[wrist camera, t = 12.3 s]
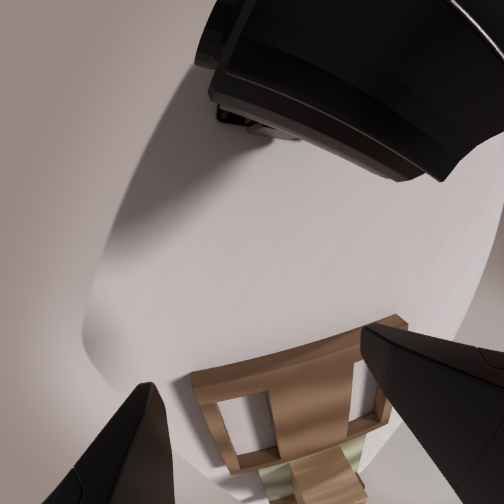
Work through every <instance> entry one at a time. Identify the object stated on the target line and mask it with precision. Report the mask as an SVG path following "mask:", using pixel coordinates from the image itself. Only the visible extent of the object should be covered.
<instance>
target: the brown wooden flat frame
mask: <svg viewBox="0 0 504 504" xmlns="http://www.w3.org/2000/svg"><path fill="white" fill-rule="evenodd" d="M375 323H379V324H383V325H387V326H391V327H395V328H399V329H403V330H407V331H408V323H407V322H406V321H404V320H403V319H402V318H401V317H399V316H398V315H397V314H395V315H392V316H389V317H387V318H384V319H381V320H379V321H376V322H375ZM362 327H363V326H362ZM362 327H359V328H356V329H354V330H351V331H348V332H345V333H342V334H339V335H336V336H332V337H329V338H326V339H323V340H320V341H317V342H313V343H310V344H307V345H303V346H300V347H296V348H293V349H289V350H286V351H282V352H278V353H275V354H271V355H267V356H263V357H259V358H255V359H251V360H247V361H243V362H239V363H234V364H230V365H225V366H221V367H216V368H211V369H207V370H202V371H196V372H191V378H192V389H193V392H194V394H195V397H196V399H197V402H198V404H199V407H200V409H201V411H202V414H203V416H204V418H205V421H206V423H207V425H208V427H209V430H210V432H211V434H212V436H213V439H214V441H215V443H216V445H217V447H218V449H219V451H220V453H221V456H222V458H223V460H224V462H225V464H226V466H227V468H228V470H229V472H230V474H231V475H236V474H241V473H245V472H250V471H254V470H258V471H259V474H260V477H261V480H262V483H263V486H264V489H265V492H266V494H267V497H268V500H269V503H270V504H298V503H297V500H296V498H295V495H294V492H293V485H292V478H291V471H290V464H289V463H290V462H293V461H296V460H300V459H303V458H306V457H309V456H312V455H315V454H318V453H321V452H324V451H326V450H329V449H332V448H335V447H337V446H340V448H341V449H342V451H343V453H344V455H345V457H346V458H347V460H348V462H349V464H350V466H351V467H352V469H353V471H354V473H355V475H356V476H357V478H358V480H359V482H360V483H361V485H362V487H363V489H364V488H365V485H364V484H363V482H362V480H361V479H360V477H359V475H358V473H357V470H358V466H359V462H360V458H361V454H362V450H363V446H364V442H365V437H366V433H368V432H371V431H373V430H375V429H377V428H379V427H381V426H383V425H386V424H388V421H389V417H390V414H391V410H392V404H391V403H390V402H389V400H388V399H387V398H386V396H385V395H384V393H383V392H382V390H381V389H380V387H379V385H378V387H377V393H376V398H375V404H374V409H373V412H372V413H370V414H367V415H365V416H363V417H360V418H358V419H355V420H353V421H351V422H348V421H349V412H350V403H351V392H352V381H353V368H354V363H355V362H357V361H360V360H363V357H362V355H361V352H360V335H361V328H362ZM263 391H266V395H267V401H268V406H269V411H270V416H271V421H272V427H273V432H274V437H275V442H276V447H272V448H269V449H265V450H261V451H257V452H252V453H248V454H244V455H239V456H237V454H236V452H235V450H234V447H233V445H232V442H231V439H230V437H229V434H228V432H227V429H226V426H225V424H224V421H223V418H222V416H221V413H220V410H219V408H218V405H217V402H219V401H224V400H229V399H233V398H238V397H242V396H246V395H251V394H255V393H259V392H263Z"/></svg>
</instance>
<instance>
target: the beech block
mask: <svg viewBox="0 0 504 504" xmlns="http://www.w3.org/2000/svg"><path fill="white" fill-rule="evenodd" d="M289 464H290V471H291V478H292V485H293V492H294V495H295V498H296V500H297V503H298V504H365V502H366V500H367V498H368V496H367V494H366V492H365V491H364V489H363V487H362V485H361V483H360V482H359V480H358V478H357V476H356V475H355V473H354V471H353V469H352V467H351V466H350V464H349V462H348V460H347V458H346V457H345V455H344V453H343V451H342V449H341V448H340V446H337V447H335V448H332V449H329V450H326V451H324V452H321V453H318V454H315V455H312V456H309V457H306V458H303V459H300V460H296V461H293V462H290V463H289Z"/></svg>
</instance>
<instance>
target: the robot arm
mask: <svg viewBox="0 0 504 504" xmlns="http://www.w3.org/2000/svg"><path fill="white" fill-rule="evenodd" d="M194 64H195V65H197V66H201V67H204V68H207V69H213V70H215V73H214V76H213V78H212V81H211V84H210V86H209V89H208V92H207V93H208V95H209V97H210V99H211V101H212V102H215V103H218V105H217V111H216V119H217V121H218V122H220V123H222V124H229V125H236V126H243V127H246V129H245V130H246V131H247V133H248V134H254V135H261V136H267V137H272V138H278V139H283V140H287V139H293V138H299V139H302V140H304V141H306V142H309V143H311V144H313V145H315V146H318V147H320V148H322V149H324V150H326V151H329V152H331V153H333V154H335V155H337V156H339V157H341V158H343V159H345V160H348V161H350V162H352V163H354V164H356V165H358V166H360V167H362V168H364V169H365V170H367V171H369V172H371V173H373V174H376V175H378V176H381V177H383V178H386V179H392V180H393V181H395V182H402V181H408V180H412V179H414V178H416V177H418V176H420V175H422V174H425V173H427V174H428V175H430V176H431V177H433V178H434V179H436V180H437V181H438V182H443V181H444V180H445V179H446V178H447V177H448V175H449V174H450V173H451V172H452V170H453V169H454V168H455V166H456V165H457V164H458V162H459V161H460V160H461V159H462V158H464V157H465V156H466V155H467V154H468V153H469V152H470V151H472V150H473V149H474V148H475V147H476V146H477V145H479V144H481V143H483V142H484V141H486V140H488V139H489V138H491V137H493V136H495V135H498V134H500V133H502V132H504V0H217V1H216V3H215V5H214V7H213V10H212V12H211V14H210V16H209V18H208V21H207V23H206V26H205V28H204V31H203V33H202V36H201V39H200V42H199V45H198V48H197V52H196V56H195V62H194ZM222 112H225V113H227V114H228V118H227V119H222V118H221V116H220V114H221V113H222ZM360 352H361V355H362V357H363V359H364V361H365V363H366V364H367V366H368V368H369V369H370V371H371V373H372V375H373V376H374V378H375V380H376V382H377V383H378V385H379V387H380V389H381V390H382V392H383V393H384V395H385V396H386V398H387V399H388V400H389V402H390V403H391V404H392V406H393V407H394V408H395V410H396V411H397V413H398V414H399V415H400V417H401V418H402V419H403V421H404V422H405V423H406V424H407V426H408V427H409V429H410V430H411V431H412V433H413V434H414V435H415V437H416V438H417V439H418V441H419V442H420V444H421V445H422V446H423V448H424V449H425V450H426V452H427V453H428V455H429V456H430V457H431V459H432V460H433V462H434V463H435V464H436V466H437V467H438V469H439V470H440V471H441V473H442V474H443V476H444V477H445V478H446V480H447V481H448V483H449V484H450V485H451V487H452V488H453V489H455V490H454V491H455V493H456V494H457V496H458V497H459V498H460V500H461V501H462V503H463V504H504V352H499V351H494V350H489V349H484V348H480V347H478V348H477V347H475V346H470V345H465V344H462V343H457V342H453V341H448V340H444V339H440V338H436V337H431V336H427V335H423V334H419V333H415V332H411V331H407V330H403V329H399V328H395V327H391V326H387V325H383V324H379V323H375V322H373V323H370V324H367V325H365V326H363V327H362V328H361V335H360ZM42 504H175V498H174V481H173V461H172V451H171V444H170V438H169V431H168V424H167V416H166V409H165V405H164V402H163V400H162V398H161V396H160V394H159V392H158V390H157V388H156V386H155V384H154V383H153V382H146V383H140V384H138V385H137V386H136V388H135V389H134V390H133V391H132V393H131V394H130V395H129V396H128V398H127V399H126V400H125V401H124V403H123V404H122V405H121V407H120V408H119V409H118V410H117V412H116V413H115V414H114V416H113V417H112V418H111V419H110V420H109V422H108V423H107V424H106V426H105V427H104V428H103V429H102V431H101V432H100V433H99V434H98V436H97V437H96V438H95V440H94V441H93V442H92V443H91V445H90V446H89V447H88V448H87V450H86V451H85V452H84V454H83V455H82V456H81V457H80V459H79V460H78V461H77V462H76V464H75V465H74V468H72V469H71V470H70V471H69V472H68V474H67V475H66V476H65V478H64V479H63V480H62V481H61V483H60V484H59V485H58V486H57V487H56V489H55V490H54V491H53V492H52V493H51V494H50V495H49V496H48V497H47V498H46V500H44V501H43V503H42Z"/></svg>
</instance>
